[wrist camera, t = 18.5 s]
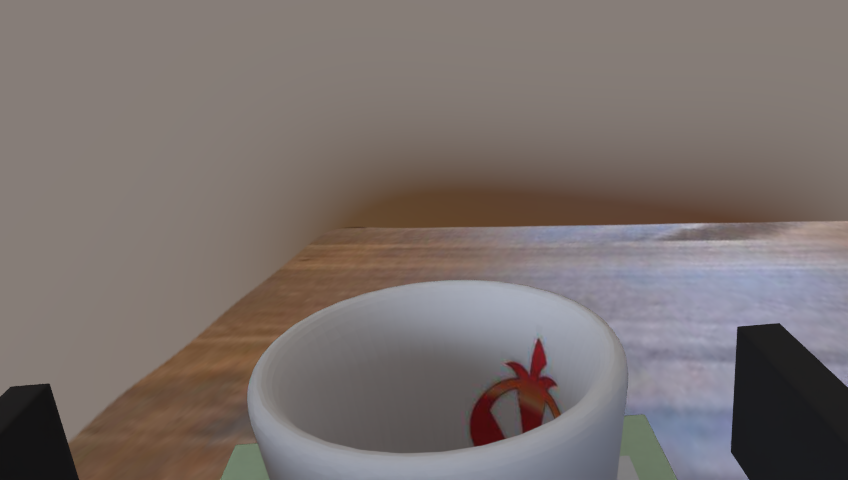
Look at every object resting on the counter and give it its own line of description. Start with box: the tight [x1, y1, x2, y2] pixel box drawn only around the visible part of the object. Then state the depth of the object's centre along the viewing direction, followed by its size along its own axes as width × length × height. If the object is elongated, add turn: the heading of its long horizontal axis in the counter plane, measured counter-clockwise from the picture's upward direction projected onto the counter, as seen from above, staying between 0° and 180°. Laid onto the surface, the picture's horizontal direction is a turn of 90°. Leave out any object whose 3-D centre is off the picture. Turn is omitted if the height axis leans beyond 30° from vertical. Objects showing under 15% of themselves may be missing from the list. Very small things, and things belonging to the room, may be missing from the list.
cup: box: [247, 280, 628, 480], centre depth 17 cm, size 11×8×8 cm
